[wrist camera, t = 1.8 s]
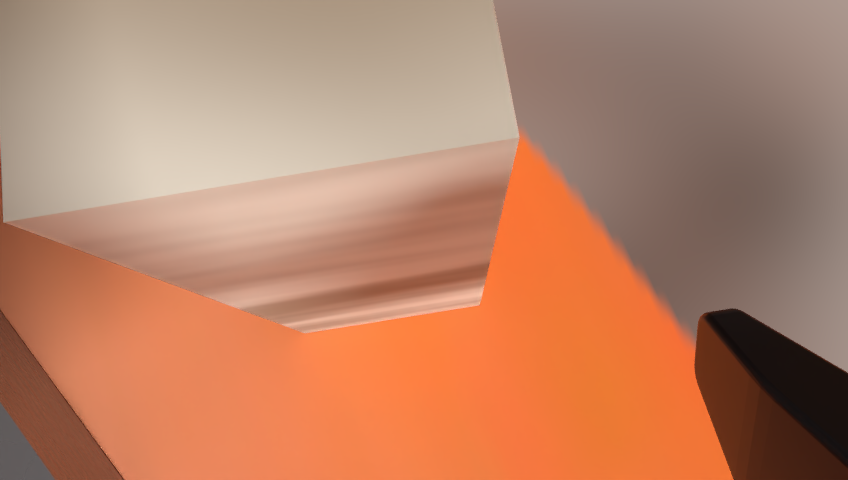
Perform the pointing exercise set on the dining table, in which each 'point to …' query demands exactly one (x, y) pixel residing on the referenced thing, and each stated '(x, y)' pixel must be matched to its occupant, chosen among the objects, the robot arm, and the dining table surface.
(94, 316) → the dining table surface
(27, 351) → the grey flat frame
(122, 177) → the square peg
